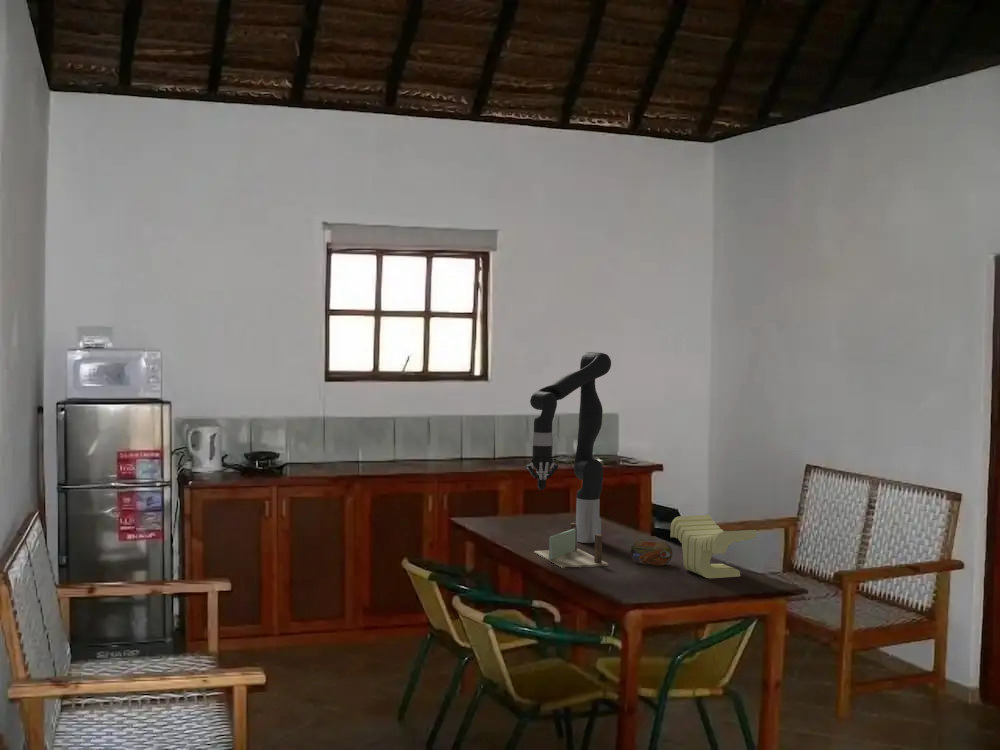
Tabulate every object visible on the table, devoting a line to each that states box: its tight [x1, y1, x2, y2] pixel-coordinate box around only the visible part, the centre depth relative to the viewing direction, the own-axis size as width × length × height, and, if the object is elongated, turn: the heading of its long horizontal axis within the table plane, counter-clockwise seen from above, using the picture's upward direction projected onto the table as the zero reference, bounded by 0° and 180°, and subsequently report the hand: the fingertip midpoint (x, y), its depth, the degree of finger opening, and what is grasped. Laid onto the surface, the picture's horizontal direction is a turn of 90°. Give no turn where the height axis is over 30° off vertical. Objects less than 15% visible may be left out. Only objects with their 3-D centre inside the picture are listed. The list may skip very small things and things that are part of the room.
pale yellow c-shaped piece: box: [669, 514, 757, 579], centre depth 383 cm, size 30×16×18 cm, turn 20°
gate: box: [548, 527, 578, 559], centre depth 404 cm, size 2×21×8 cm, turn 150°
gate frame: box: [533, 522, 609, 569], centre depth 401 cm, size 18×27×11 cm, turn 19°
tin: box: [630, 540, 673, 566], centre depth 397 cm, size 15×3×8 cm, turn 70°
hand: (541, 489), depth 418 cm, fingers closed
